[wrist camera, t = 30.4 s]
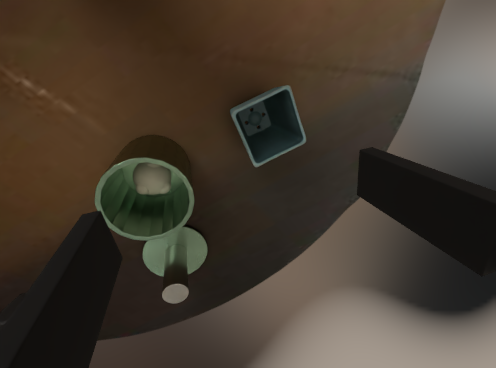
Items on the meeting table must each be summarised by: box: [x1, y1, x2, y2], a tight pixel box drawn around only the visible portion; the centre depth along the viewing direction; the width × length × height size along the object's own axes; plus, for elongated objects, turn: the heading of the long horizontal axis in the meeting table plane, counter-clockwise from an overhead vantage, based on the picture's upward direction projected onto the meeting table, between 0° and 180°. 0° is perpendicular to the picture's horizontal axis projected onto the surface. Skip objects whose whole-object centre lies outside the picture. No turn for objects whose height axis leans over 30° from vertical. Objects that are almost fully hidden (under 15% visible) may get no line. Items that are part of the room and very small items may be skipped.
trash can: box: [95, 135, 194, 241], centre depth 35 cm, size 11×11×13 cm
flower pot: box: [230, 85, 306, 167], centre depth 38 cm, size 9×9×9 cm
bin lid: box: [143, 226, 207, 303], centre depth 43 cm, size 12×12×11 cm
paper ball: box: [133, 162, 171, 195], centre depth 38 cm, size 6×6×6 cm
